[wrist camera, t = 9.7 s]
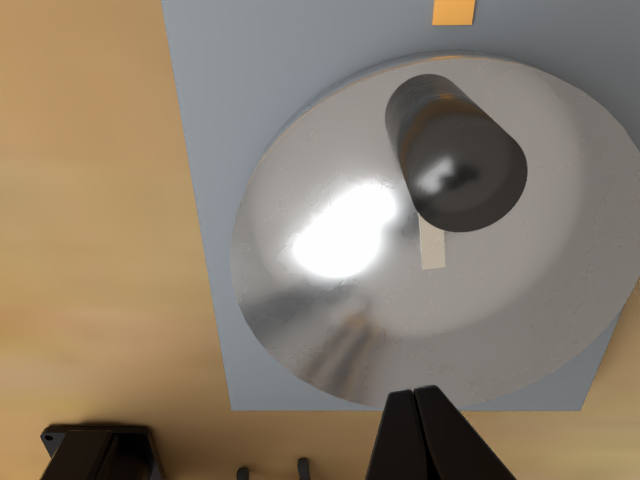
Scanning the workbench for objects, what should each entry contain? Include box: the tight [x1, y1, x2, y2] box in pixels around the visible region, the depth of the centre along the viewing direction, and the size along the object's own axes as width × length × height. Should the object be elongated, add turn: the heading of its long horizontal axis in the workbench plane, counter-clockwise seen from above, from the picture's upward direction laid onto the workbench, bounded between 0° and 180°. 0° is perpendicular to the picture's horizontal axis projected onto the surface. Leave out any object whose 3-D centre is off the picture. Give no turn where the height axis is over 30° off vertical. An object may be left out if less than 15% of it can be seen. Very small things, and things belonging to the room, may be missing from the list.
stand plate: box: [161, 0, 640, 411], centre depth 19 cm, size 20×18×2 cm
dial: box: [230, 51, 640, 409], centre depth 15 cm, size 15×15×7 cm
